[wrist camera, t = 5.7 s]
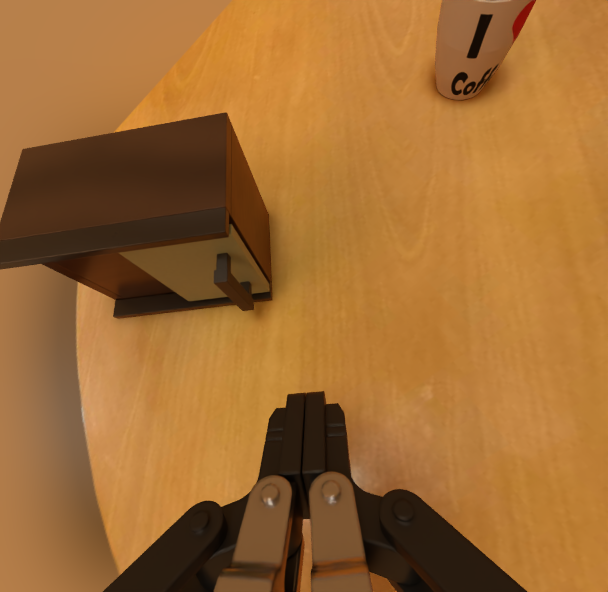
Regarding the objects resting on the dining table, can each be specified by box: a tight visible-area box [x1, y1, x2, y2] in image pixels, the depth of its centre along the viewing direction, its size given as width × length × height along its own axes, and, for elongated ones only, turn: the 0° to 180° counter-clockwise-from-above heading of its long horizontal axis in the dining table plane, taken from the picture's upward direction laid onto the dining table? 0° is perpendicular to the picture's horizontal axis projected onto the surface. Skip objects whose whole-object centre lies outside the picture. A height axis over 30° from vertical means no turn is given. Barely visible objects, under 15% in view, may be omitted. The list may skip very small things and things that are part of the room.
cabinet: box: [0, 113, 272, 318], centre depth 27 cm, size 10×16×12 cm, turn 94°
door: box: [119, 224, 270, 311], centre depth 25 cm, size 3×8×10 cm, turn 94°
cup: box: [435, 0, 536, 100], centre depth 32 cm, size 8×8×10 cm
